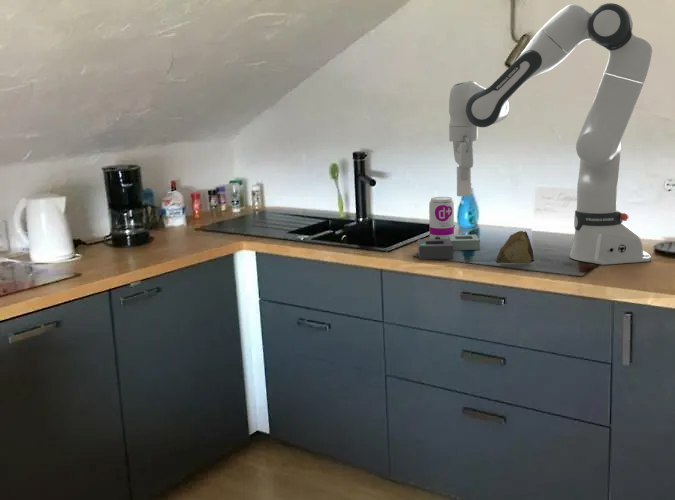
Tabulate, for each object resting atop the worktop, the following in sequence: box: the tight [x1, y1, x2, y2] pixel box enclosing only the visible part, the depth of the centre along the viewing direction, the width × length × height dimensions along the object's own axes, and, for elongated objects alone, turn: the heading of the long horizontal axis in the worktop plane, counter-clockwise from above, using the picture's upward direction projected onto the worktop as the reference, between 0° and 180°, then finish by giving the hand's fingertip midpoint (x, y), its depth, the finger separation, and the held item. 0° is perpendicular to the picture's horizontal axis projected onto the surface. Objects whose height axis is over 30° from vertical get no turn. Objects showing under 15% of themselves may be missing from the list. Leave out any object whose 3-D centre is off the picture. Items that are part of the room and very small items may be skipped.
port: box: [417, 238, 454, 260], centre depth 221 cm, size 10×10×5 cm
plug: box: [456, 166, 472, 197], centre depth 227 cm, size 4×3×9 cm
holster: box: [448, 234, 481, 251], centre depth 231 cm, size 9×9×4 cm
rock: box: [496, 230, 535, 264], centre depth 213 cm, size 11×9×10 cm
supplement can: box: [428, 196, 455, 239], centre depth 243 cm, size 8×8×15 cm
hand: (463, 179), depth 227 cm, fingers closed on plug, 3 cm apart
